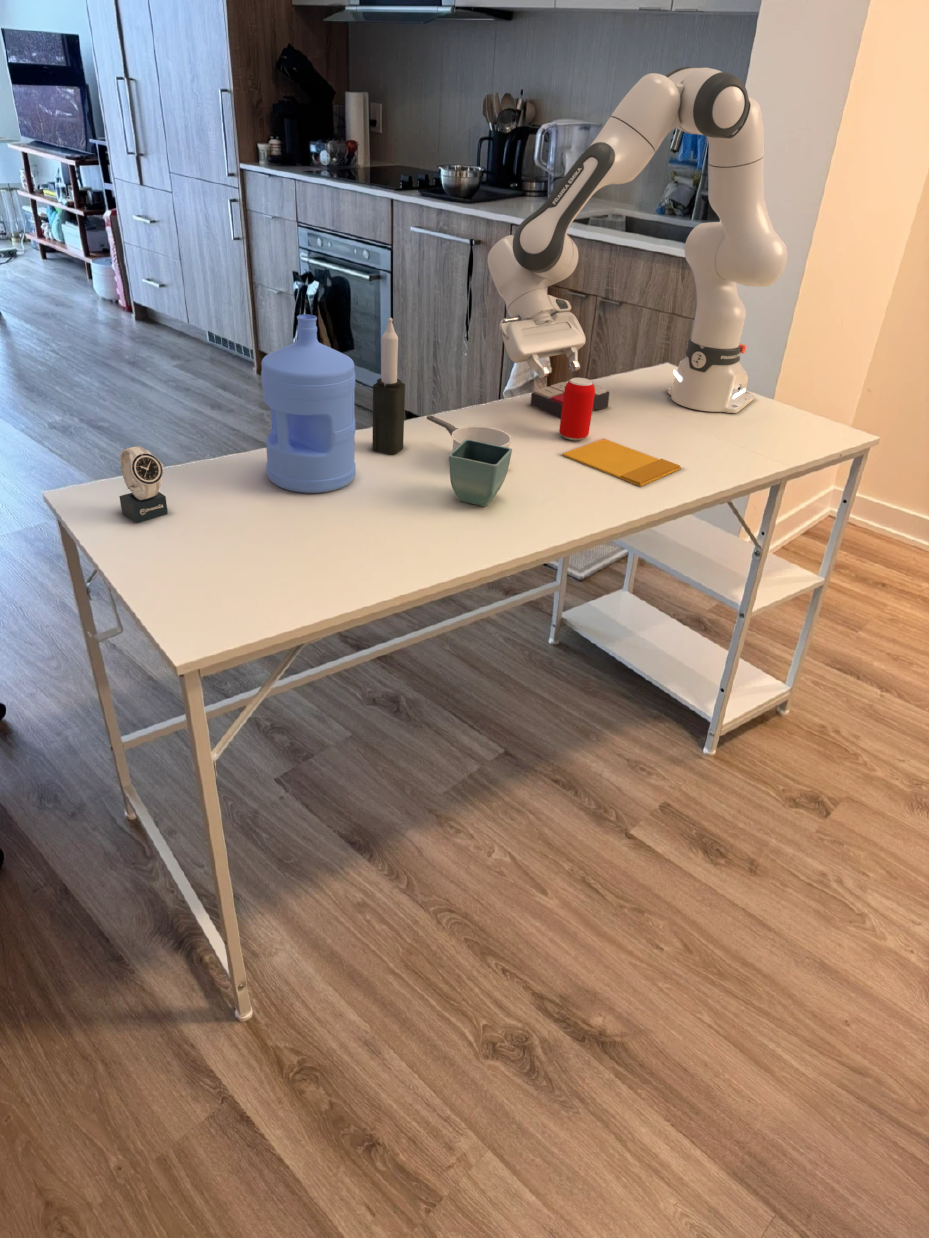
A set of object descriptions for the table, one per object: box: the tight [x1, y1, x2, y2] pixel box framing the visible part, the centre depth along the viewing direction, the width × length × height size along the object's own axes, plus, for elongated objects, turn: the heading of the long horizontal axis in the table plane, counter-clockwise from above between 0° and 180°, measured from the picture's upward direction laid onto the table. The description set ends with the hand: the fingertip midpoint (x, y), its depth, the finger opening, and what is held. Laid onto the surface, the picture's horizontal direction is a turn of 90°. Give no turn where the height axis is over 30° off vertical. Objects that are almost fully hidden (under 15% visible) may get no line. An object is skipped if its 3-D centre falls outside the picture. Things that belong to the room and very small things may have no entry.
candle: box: [371, 317, 406, 456], centre depth 162 cm, size 5×5×25 cm
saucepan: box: [425, 414, 513, 452], centre depth 166 cm, size 12×20×6 cm, turn 47°
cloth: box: [561, 438, 682, 488], centre depth 171 cm, size 14×19×1 cm
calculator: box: [530, 380, 611, 418], centre depth 197 cm, size 11×4×15 cm
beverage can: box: [558, 377, 595, 442], centre depth 178 cm, size 6×6×12 cm
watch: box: [119, 445, 169, 524], centre depth 135 cm, size 6×8×11 cm
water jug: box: [260, 313, 356, 494], centre depth 147 cm, size 16×16×28 cm
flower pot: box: [448, 439, 513, 507], centre depth 149 cm, size 9×9×9 cm
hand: (560, 373), depth 178 cm, fingers open, 8 cm apart
